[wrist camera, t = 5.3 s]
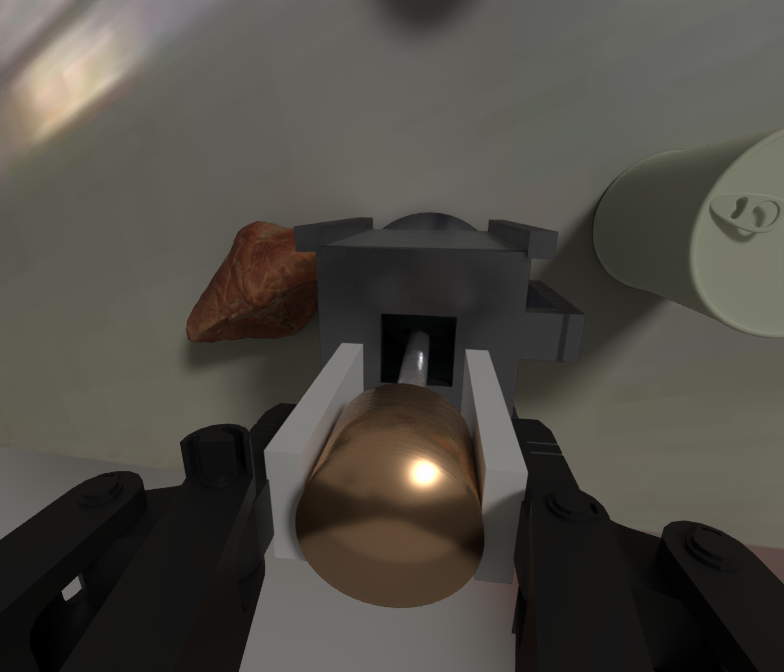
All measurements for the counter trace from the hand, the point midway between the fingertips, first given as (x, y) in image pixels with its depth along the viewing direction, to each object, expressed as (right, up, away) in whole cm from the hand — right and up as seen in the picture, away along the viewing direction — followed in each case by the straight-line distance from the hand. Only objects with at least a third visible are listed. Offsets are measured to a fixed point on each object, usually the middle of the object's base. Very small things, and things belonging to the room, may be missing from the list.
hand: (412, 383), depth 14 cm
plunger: (+2, +4, +13) cm, 13 cm away
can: (+18, +10, +14) cm, 24 cm away
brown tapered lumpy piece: (-9, +6, +18) cm, 21 cm away
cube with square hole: (+3, +5, +16) cm, 18 cm away
